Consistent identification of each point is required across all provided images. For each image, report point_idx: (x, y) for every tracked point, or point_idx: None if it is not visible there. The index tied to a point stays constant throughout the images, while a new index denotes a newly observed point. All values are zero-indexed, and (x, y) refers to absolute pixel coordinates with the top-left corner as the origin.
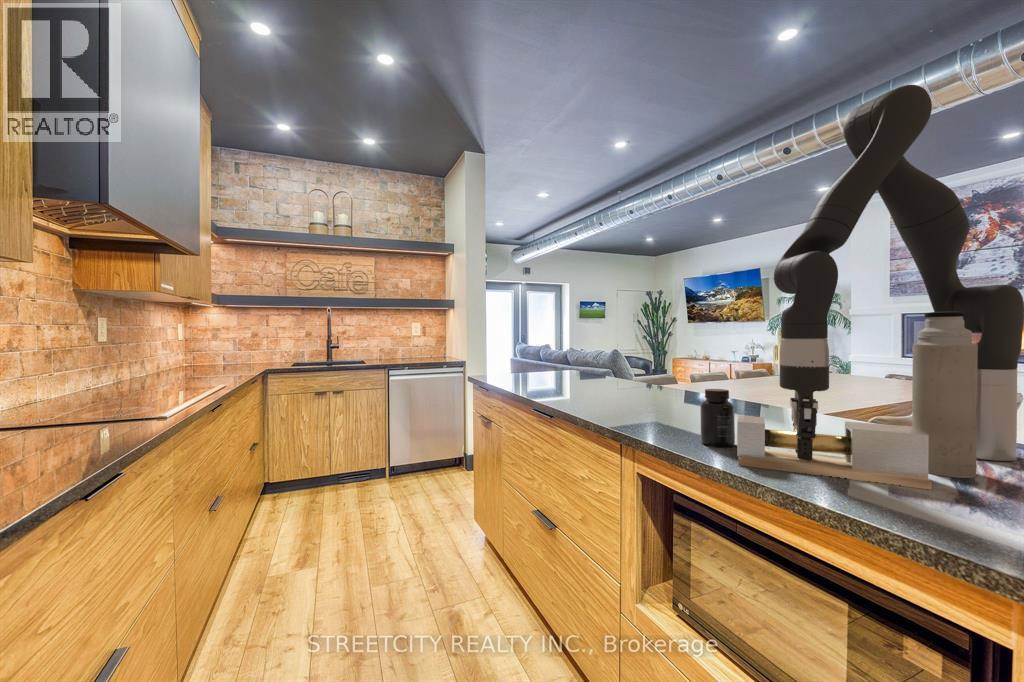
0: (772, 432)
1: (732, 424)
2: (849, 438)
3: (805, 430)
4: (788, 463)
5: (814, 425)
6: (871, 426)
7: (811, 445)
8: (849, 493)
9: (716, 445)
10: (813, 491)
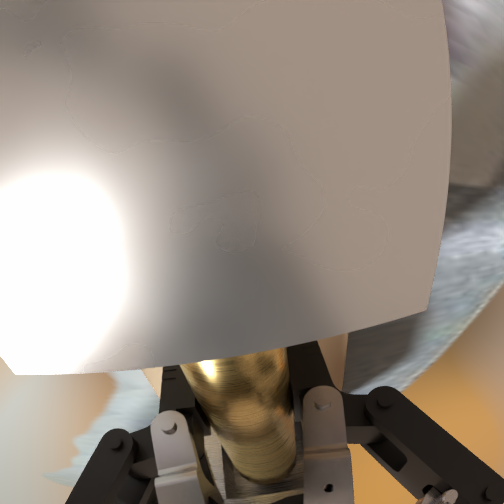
0: (285, 467)
1: (151, 497)
2: None
3: (194, 438)
4: (331, 352)
5: (450, 436)
6: (88, 114)
7: (306, 366)
8: (478, 181)
9: None
10: (481, 255)
